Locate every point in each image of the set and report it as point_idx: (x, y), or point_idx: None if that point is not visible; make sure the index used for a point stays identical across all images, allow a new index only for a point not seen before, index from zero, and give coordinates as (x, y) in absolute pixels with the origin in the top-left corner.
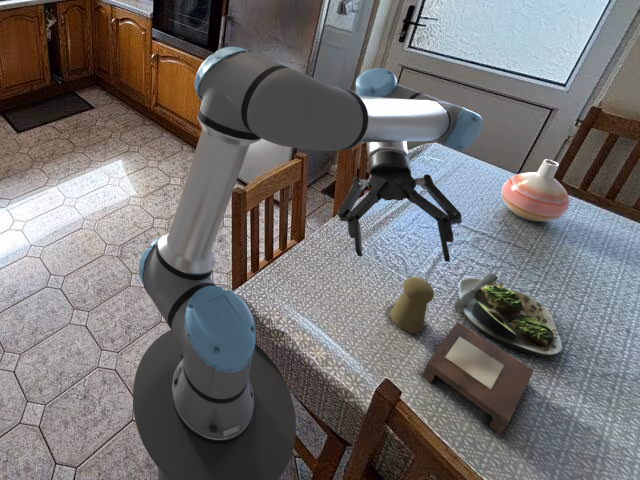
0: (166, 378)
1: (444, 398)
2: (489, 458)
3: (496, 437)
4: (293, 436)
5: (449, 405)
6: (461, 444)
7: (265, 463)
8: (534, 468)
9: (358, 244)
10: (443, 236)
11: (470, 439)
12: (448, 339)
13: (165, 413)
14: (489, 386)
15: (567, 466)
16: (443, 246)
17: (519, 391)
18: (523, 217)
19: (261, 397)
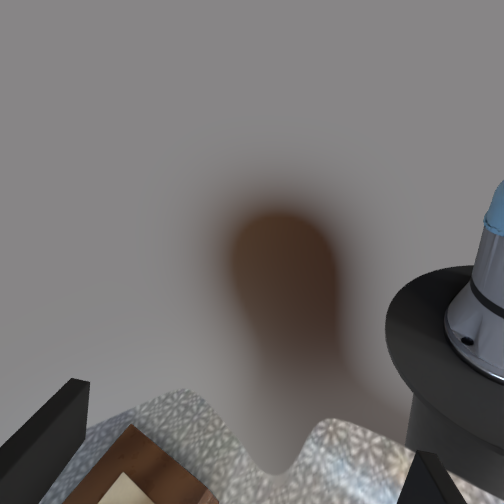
0: None
1: (197, 467)
2: (176, 400)
3: (152, 433)
4: (390, 343)
5: (194, 457)
6: (201, 402)
7: (406, 309)
8: (130, 411)
9: (436, 479)
10: (5, 453)
11: (187, 414)
12: None
13: None
14: (122, 476)
15: (88, 432)
16: (59, 408)
17: (75, 492)
18: None
19: (450, 367)
